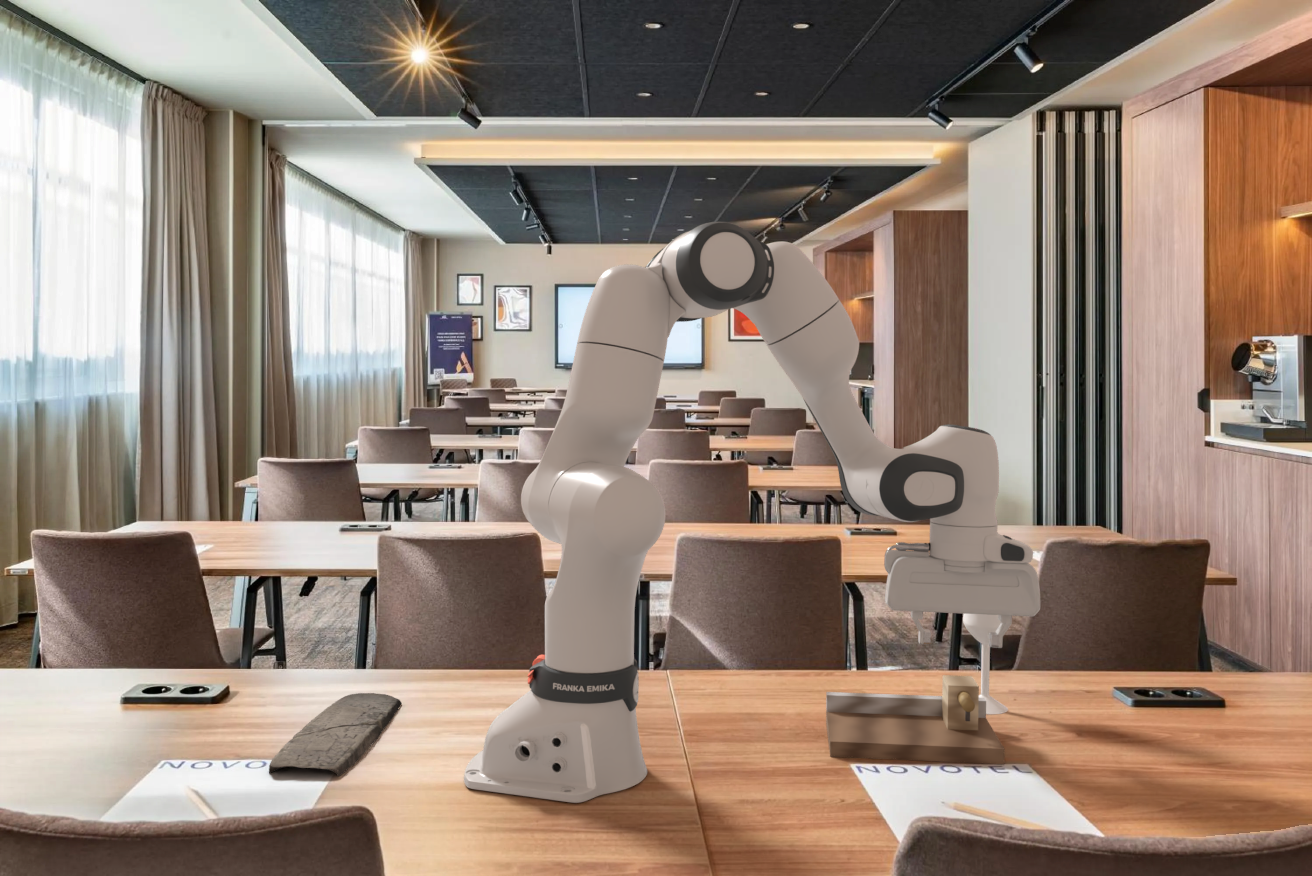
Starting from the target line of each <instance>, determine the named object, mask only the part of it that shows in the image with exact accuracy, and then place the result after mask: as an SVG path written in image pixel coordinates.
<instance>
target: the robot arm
mask: <svg viewBox="0 0 1312 876" xmlns="http://www.w3.org/2000/svg"><path fill="white" fill-rule="evenodd" d="M591 293H592V294H591V295H590V297H589V298H590V299H589V301H588V303H587V305H586V309H585V312H584V315H583V319H582V322H581V326H580V330H579V334H578V339H577V342H576V347H575V352H574V358H573V361H572V366H571V372H570V375H569V381H568V385H567V388H566V389H567V390H566V394H565V398H564V401H563V404H562V408H561V410H560V414H559V416H558V419H557V422H556V424H555V425H554V429H553V430H552V434H551V435H550V438H549V440H548V443H547V445H546V447H545V450H544V452H543V455H542V457H541V459H540V461H539V463H538V464H537V466H536V468H534V470H533V471H532V472H531V473H530V474H529V475H528V476H527V478H526V480H525V481H524V484H523V486H522V489H521V495H520V503H521V510H522V512H523V515H524V517H525V519H526V520H527V522H528V523H529V524H530V525H531V526H532V527H533V528H534V530H536V531H537V532H538V533H539V534H540V535H541V536H543V537H544V538H545V539H546V540H549V541H551V542H553V543H556V544H560V545H561V555H560V556H561V557H560V562H559V567H558V570H557V574H556V575H557V576H556V578H555V583H554V585H553V587H552V589H551V590H550V591H549V592H548V594H547V596H546V598H545V603H544V654H539V655H538V656H536V658H534V660H533V661H532V666H531V667H530V668H529V671H528V674H527V684H528V685H529V689H530V690H528V692H525V694H523V695H522V696H520V697H519V698H518V699H517V700H516V701H514V702H513V703H511V705H510V706H508V707H507V708H506V709H504V710H502V711H501V712H500V713H499V714H498V715H497V716H496V717H495V718H494V719H493V721H492V722H491V724H490V726H489V727H488V730H487V732H486V735H485V739H484V743H483V749H482V750H480V751H479V752H478V753H476V754H475V755H474V756H473V757H472V758H471V759H470V761H469V762H468V763H467V765H466V767H465V769H464V774H463V775H464V776H463V782H464V785H465V786H466V787H467V788H468V789H472V790H478V791H485V792H493V793H500V794H506V795H515V796H521V797H522V796H523V797H528V798H529V797H530V798H536V799H544V800H550V801H559V802H567V803H573V804H577V803H579V804H580V803H583V802H587V801H588V800H591V799H593V798H596V797H599V796H602V795H606V794H612V793H615V792H620V791H623V790H626V789H629V788H632V787H633V786H635V785H638V784H639V783H641V782H642V781H643V780H644V779H645V778H646V776H647V775H648V769H647V768H648V767H647V765H646V762H645V759H644V755H643V750H642V746H641V740H640V734H639V727H638V719H637V709H636V708H637V706H638V702H639V690H640V689H639V688H640V687H639V685H640V683H639V682H640V681H639V671H638V661H637V659H636V658H635V654H634V653H635V609H636V608H635V607H636V597H637V590H638V585H639V580H640V577H641V575H642V574H641V573H642V570H643V565H644V563H645V559H646V557H647V554H648V552H649V550H650V549H651V548H652V547H653V546H654V545H655V544H656V543H657V541H658V540H659V538H660V536H661V535H662V532H663V530H664V527H665V525H666V524H665V522H666V512H667V511H666V506H665V501H664V497H663V496H662V495H663V494H661V491H660V490H659V489H658V488H657V486H656V485H655V484H654V483H653V482H652V481H650V480H649V479H648V478H646V477H645V476H643V475H642V474H640V473H639V472H636V471H635V470H632V469H631V468H629V467H626V466H625V465H626V463H627V461H628V458H629V456H630V455H631V452H632V450H633V448H634V446H635V444H636V443H637V441H638V440H639V438H640V437H641V436H642V435H643V433H645V432H646V430H647V429H648V428H649V427H650V424H651V423H652V421H653V418H654V413H655V408H656V403H657V398H658V392H659V388H660V384H661V378H662V373H663V368H664V362H665V357H666V351H667V346H668V338H669V337H670V335H671V332H672V329H673V327H674V325H675V324H676V323H678V322H683V323H684V322H692V321H696V320H701V319H704V318H705V319H707V318H712V317H715V316H718V315H720V314H722V313H724V312H727V311H728V310H730V309H733V310H734V309H735V310H737V311H739V312H741V313H742V314H743V315H745V316H746V317H747V319H748V320H750V321H751V322H752V324H754V326H755V327H756V329H757V331H758V333H759V335H760V337H761V339H762V340H763V341H764V343H765V345H766V346H767V348H768V349H769V352H770V353H771V354H772V356H773V357H774V359H775V360H776V361H777V363H778V364H779V366H780V367H781V369H782V370H783V372H784V373H785V374H786V375H787V377H788V379H789V380H790V381H791V382H792V384H793V386H794V388H796V391H798V394H800V396H801V398H802V399H803V401H804V403H805V405H806V407H807V408H808V411H809V412H810V415H811V416H812V418H813V419H814V422H815V423H816V425H817V427H818V428H819V431H820V432H821V434H822V436H823V438H824V440H825V441H826V443H827V445H828V446H829V449H830V450H831V452H832V454H833V457H834V458H835V461H836V462H835V463H836V466H837V471H838V477H839V478H838V479H839V483H840V487H841V491H842V493H843V496H844V498H845V499H846V501H847V503H848V504H849V505H850V506H851V507H852V508H853V509H855V510H856V511H858V512H860V513H862V514H864V515H866V516H867V515H868V516H876V517H883V518H887V519H891V520H896V521H900V522H905V523H906V522H907V523H913V522H914V523H915V522H919V521H924V520H929V542H912V543H911V542H904V541H901V542H899V541H898V542H896V543H895V544H894V545H891V546H889V547H888V548H887V549H886V551H885V553H884V564H883V566H884V569H885V571H886V573H887V578H886V584H885V594H884V600H885V604H886V605H887V606H888V608H889V609H891V610H892V611H896V612H897V611H898V612H899V611H901V612H910V618H911V619H912V621H913V623H914V625H915V627H916V629H917V630H918V637H917V638H918V641H917V642H918V644H919V645H932V643H931V642H932V640H931V637H932V632H931V629H928V628H924V627H923V625H922V624H921V622H920V620H923V619H924V613H926V612H927V613H941V614H942V613H945V614H987V615H998V619H999V620H1000V621H1001V624H1000V625H999V627H998V628H997V630H996V632H989V638H990V640H989V646H990V648H996V649H997V648H998V649H1002V648H1003V639H1004V636H1005V634H1006V633H1007V631H1008V630H1009V629H1010V627H1011V626H1012V624H1013V620H1012V619H1013V617H1014V616H1015V617H1035V616H1036V615H1037V614H1038V612H1040V610H1041V590H1040V588H1041V587H1040V580H1039V575H1038V573H1037V572H1038V571H1037V570H1036V568H1035V567H1034V566H1033V565H1031V564H1030V563H1031V562H1032V561H1033V557H1034V551H1033V548H1032V547H1031V546H1029V545H1028V544H1027V543H1025V542H1022V541H1020V540H1017V539H1015V538H1011V536H1008V535H1005V534H1000V533H999V532H998V525H999V524H998V518H997V514H996V502H997V500H998V497H999V493H1000V492H999V491H1000V490H999V488H1000V467H999V465H1000V464H999V452H998V446H997V443H996V439H995V438H994V437H993V436H992V434H990V433H989V432H987V431H985V430H983V429H980V428H976V427H971V426H965V425H963V426H962V425H959V424H943V425H940V426H939V427H937V429H936V430H935V431H933V432H932V433H931V434H929V435H928V436H926V437H924V438H923V439H920V440H919V441H917V442H914V443H912V444H909V445H907V446H906V445H905V446H903V448H894V447H891V446H890V445H888V444H886V443H885V442H884V441H882V440H881V439H879V438H878V437H877V435H875V433H874V431H873V430H872V428H871V426H870V425H869V423H868V421H867V418H866V417H865V415H864V413H863V411H862V409H861V408H860V406H859V404H858V402H857V400H856V398H855V396H854V395H853V392H852V389H851V386H850V375H851V374H850V373H851V370H852V369H853V367H854V365H855V364H856V362H857V358H858V355H859V351H860V350H859V349H860V339H859V337H858V335H857V331H856V329H855V326H854V323H853V321H852V318H851V317H850V315H849V313H848V311H847V309H846V308H845V306H844V305H843V303H842V302H841V300H840V298H839V297H838V295H837V294H836V292H835V291H834V289H833V287H832V286H831V284H830V283H829V282H828V281H827V279H826V277H824V275H823V273H822V272H821V271H820V270H819V269H818V267H817V266H816V265H815V264H814V263H813V262H812V261H811V259H810V258H809V257H808V256H807V255H806V254H805V253H804V252H803V250H802V249H800V247H798V246H797V245H796V244H794V243H792V242H790V241H789V242H788V241H774V242H770V243H765V242H763V241H761V240H759V239H758V238H755V237H754V236H753V235H752V234H751V233H750V232H749V231H748V230H746V229H744V228H742V227H741V226H738V225H736V224H734V223H731V222H726V221H711V222H706V223H702V224H700V225H698V226H696V227H694V228H692V229H691V230H688V231H685V232H683V233H681V234H680V235H678V236H676V237H674V239H672V240H671V241H670V242H669V243H668V244H666V246H664V247H663V248H661V249H660V250H659V251H658V252H657V253H656V254H655V255H654V256H652V259H651V260H650V261H649V262H648V264H646V265H645V266H642V265H639V264H632V263H631V264H627V263H626V264H619V265H614V266H612V267H609V268H608V269H606V270H604V272H603V273H602V274H601V275H600V276H599V278H598V279H597V281H596V284H595V286H594V288H593V290H592V292H591Z"/></svg>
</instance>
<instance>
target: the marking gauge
mask: <svg viewBox="0 0 1312 876" xmlns="http://www.w3.org/2000/svg"><path fill="white" fill-rule="evenodd" d="M941 688H942V689H941V691H942V695H941V696H942V718H943V721H944V723H945V725H946V727H947V729H955V730H978V705H979V695H980V691H979V690H980V686H979V685H978V683H977V681H976V680H975V678H974V677H973V676H972V675H945V674H943V675H942V687H941Z"/></svg>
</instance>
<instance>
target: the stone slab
mask: <svg viewBox="0 0 1312 876" xmlns="http://www.w3.org/2000/svg"><path fill="white" fill-rule="evenodd" d="M401 704H402V701H401V700H400V699H398V698H397V697H394V696H392V695H389V694H386V693H374V692H366V693H365V692H364V693H363V692H359V693H357V692H356V693H351V694H348V695H345V696H343V697H341V698H340V699H338V700H336V701H334V703H332V704H331V705H329V706H328V707H326V708H325V709H324V710H323V711H322V712H320V713H319V714H318V715H316V716H315V717H314V718H313V719H311V720H310V721H309V722H308V723H307V724H306V725H304V727H302V728H301V729H300V730H299V732H297V733H296V734H294V735H293V737H292V738H291V739H289V741H287V742H286V744H284V745H283V746H282V748H281V749H280V750H279V752H277V753H276V754H275V755H274V757H272V759H271V761H270V763H269V766H268V767H269V768H268V774H271V773H273V772H275V771H277V770H280V769H283V768H288V767H289V768H291V767H292V768H293V767H295V768H301V769H306V768H307V769H308V768H310V769H322V770H328V771H331V772H332V773H335V774H336V775H337V777H340V776H342V774H344V773H345V772H347V770H348V769H350V768H351V767H352V766H354V765H355V764H356V763H357V762H358V761H359V760H360V759H361V758H362V757H363V755H364V754H365V753H366V752H367V751H368V750H369V749H370V747H372V745H373V744H374V743H375V742H376V741H377V740H378V739H379V737H380V735H382V732H383V731H384V730H385V728H386V727H387V726H388V725H389V724H390V722H391V720H392V719H393V718H394V716H395V715H396V714H397V712H398V711H397V710H399V709H400V708H401V706H402V705H401ZM400 705H401V706H400ZM399 707H400V708H399ZM398 708H399V709H398Z"/></svg>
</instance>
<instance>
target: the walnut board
mask: <svg viewBox="0 0 1312 876" xmlns="http://www.w3.org/2000/svg"><path fill="white" fill-rule="evenodd" d="M825 695H826V699H825V703H826V704H825V708H826V709H825V710H826V711H825V724H826V725H825V726H826V731H827V741H828V750H829V757H833V758H834V757H835V758H855V759H857V758H858V759H877V760H878V759H881V760H883V759H884V760H902V761H922V762H923V761H925V762H945V763H947V762H948V763H949V762H950V763H965V764H967V763H970V764H992V765H1005V748H1004V746H1003V744H1002V742H1001V741H1000V739H999V737H998V736H997V734H996V732H995V731H994V729H993V727H992V726H991V724H990V722H989V720H988V718H987V714H986V700H985V698H979V705H978V730H955V729H947V727H946V725H945V723H944V721H943V718H942V695H924V694H923V695H921V694H918V695H917V694H894V693H893V694H891V693H871V692H870V693H865V692H864V693H863V692H840V691H839V692H837V691H836V692H835V691H826V694H825Z"/></svg>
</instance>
